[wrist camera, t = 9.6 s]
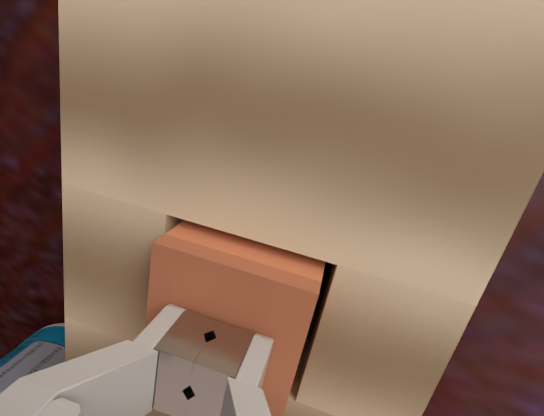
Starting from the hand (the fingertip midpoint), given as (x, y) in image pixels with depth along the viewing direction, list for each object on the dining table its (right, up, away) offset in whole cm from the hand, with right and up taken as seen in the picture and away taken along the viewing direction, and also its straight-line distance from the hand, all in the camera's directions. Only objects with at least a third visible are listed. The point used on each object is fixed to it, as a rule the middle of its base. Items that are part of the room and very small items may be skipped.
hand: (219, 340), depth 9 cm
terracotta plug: (+1, +2, +5) cm, 5 cm away
